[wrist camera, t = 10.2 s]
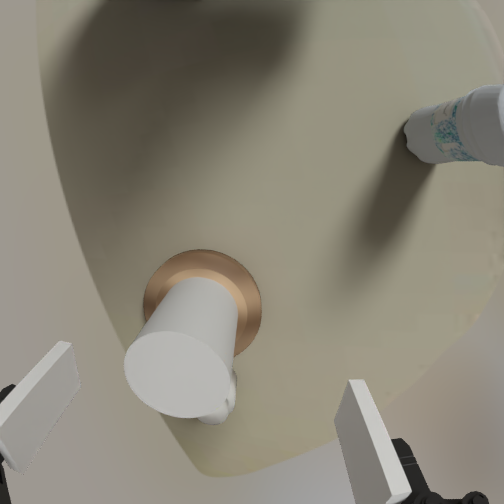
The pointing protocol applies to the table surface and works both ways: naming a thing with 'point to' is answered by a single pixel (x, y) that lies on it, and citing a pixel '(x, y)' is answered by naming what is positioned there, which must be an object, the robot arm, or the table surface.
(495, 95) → the bottle
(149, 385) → the white cylindrical piece
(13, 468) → the robot arm
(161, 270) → the brown wooden plate
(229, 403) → the white knobbed rounded part
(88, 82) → the table surface
